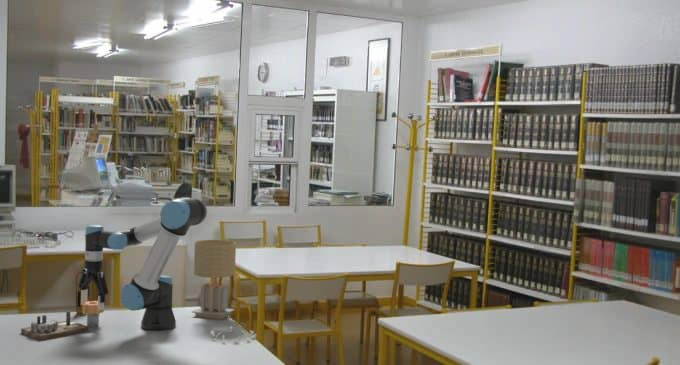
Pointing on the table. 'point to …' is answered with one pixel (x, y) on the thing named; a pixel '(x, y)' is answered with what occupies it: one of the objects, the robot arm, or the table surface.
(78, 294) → the multimeter
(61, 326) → the gear board
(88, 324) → the smooth gray pebble
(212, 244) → the desk lamp
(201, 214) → the robot arm
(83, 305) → the loose gear
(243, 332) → the game piece set
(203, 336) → the table surface
